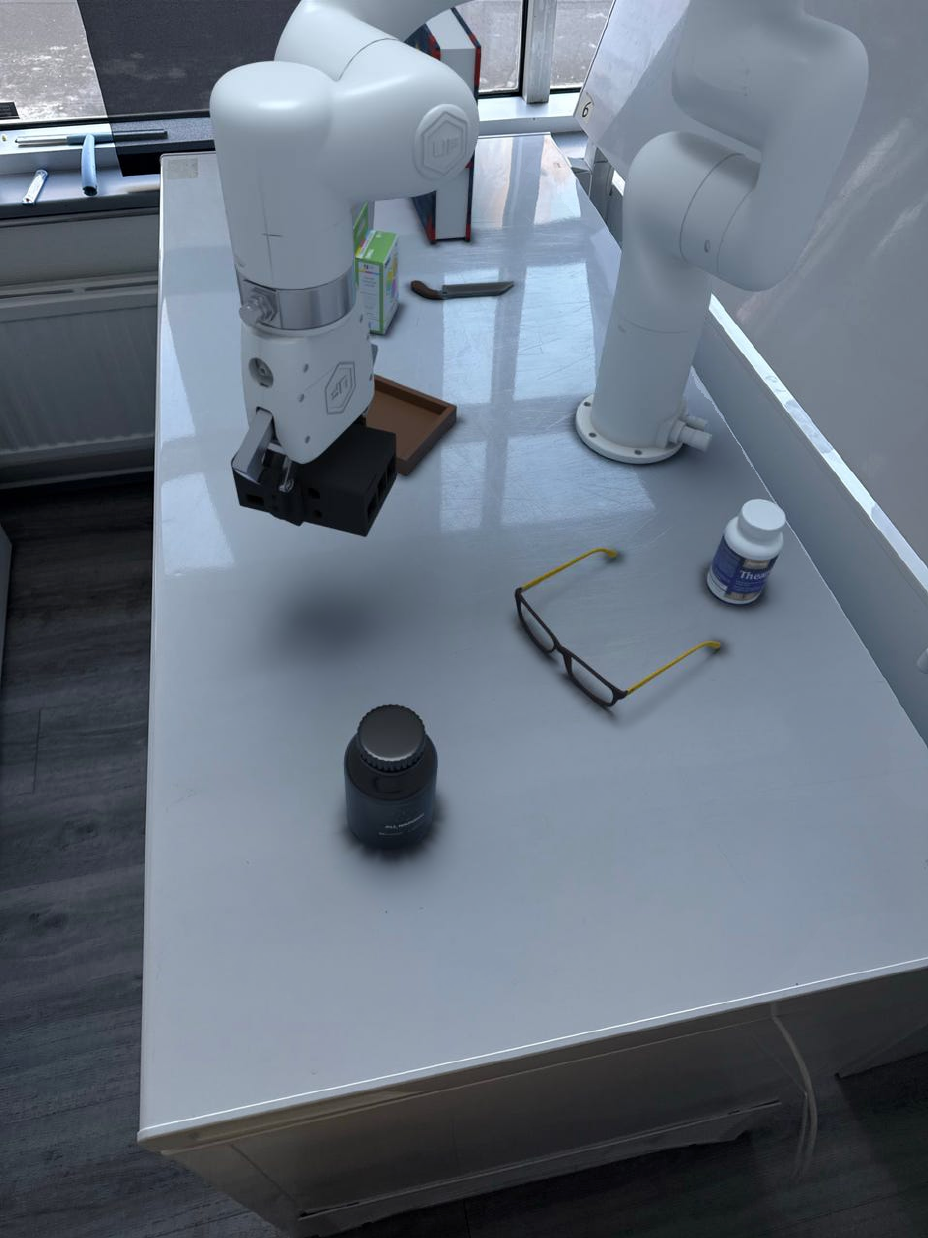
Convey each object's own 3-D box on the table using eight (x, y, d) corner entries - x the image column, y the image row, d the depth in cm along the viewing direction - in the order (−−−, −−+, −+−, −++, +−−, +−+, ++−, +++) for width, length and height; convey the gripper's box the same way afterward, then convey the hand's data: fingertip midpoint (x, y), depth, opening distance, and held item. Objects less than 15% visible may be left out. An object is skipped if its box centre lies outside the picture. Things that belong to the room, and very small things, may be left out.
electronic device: (366, 540, 70) (363, 493, 66) (239, 509, 71) (229, 461, 67) (397, 478, 74) (396, 431, 70) (277, 450, 76) (270, 402, 72)
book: (393, 164, 142) (391, -22, 123) (436, 161, 143) (440, -23, 124) (427, 245, 126) (431, 47, 107) (474, 241, 128) (486, 45, 109)
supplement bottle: (402, 870, 68) (402, 794, 59) (329, 824, 70) (319, 744, 61) (450, 802, 72) (458, 720, 62) (380, 760, 74) (378, 675, 64)
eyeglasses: (503, 619, 84) (507, 591, 81) (614, 555, 90) (622, 527, 87) (607, 725, 77) (615, 699, 74) (720, 648, 83) (732, 621, 80)
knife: (414, 300, 117) (414, 295, 117) (409, 284, 120) (409, 279, 119) (518, 294, 119) (518, 289, 119) (511, 278, 122) (512, 273, 121)
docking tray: (456, 420, 102) (457, 405, 101) (406, 475, 96) (406, 460, 94) (346, 377, 106) (345, 362, 105) (291, 427, 100) (289, 411, 98)
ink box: (385, 336, 112) (384, 232, 102) (355, 330, 112) (350, 227, 102) (399, 306, 116) (399, 204, 106) (369, 301, 117) (366, 199, 106)
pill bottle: (728, 613, 86) (759, 542, 78) (694, 575, 89) (722, 503, 81) (771, 595, 88) (806, 524, 80) (737, 558, 91) (768, 487, 83)
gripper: (264, 372, 52) (294, 571, 66) (414, 242, 62) (414, 438, 76) (162, 332, 54) (212, 533, 68) (324, 213, 64) (339, 409, 78)
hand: (319, 482), depth 72 cm, fingers closed on electronic device, 8 cm apart
